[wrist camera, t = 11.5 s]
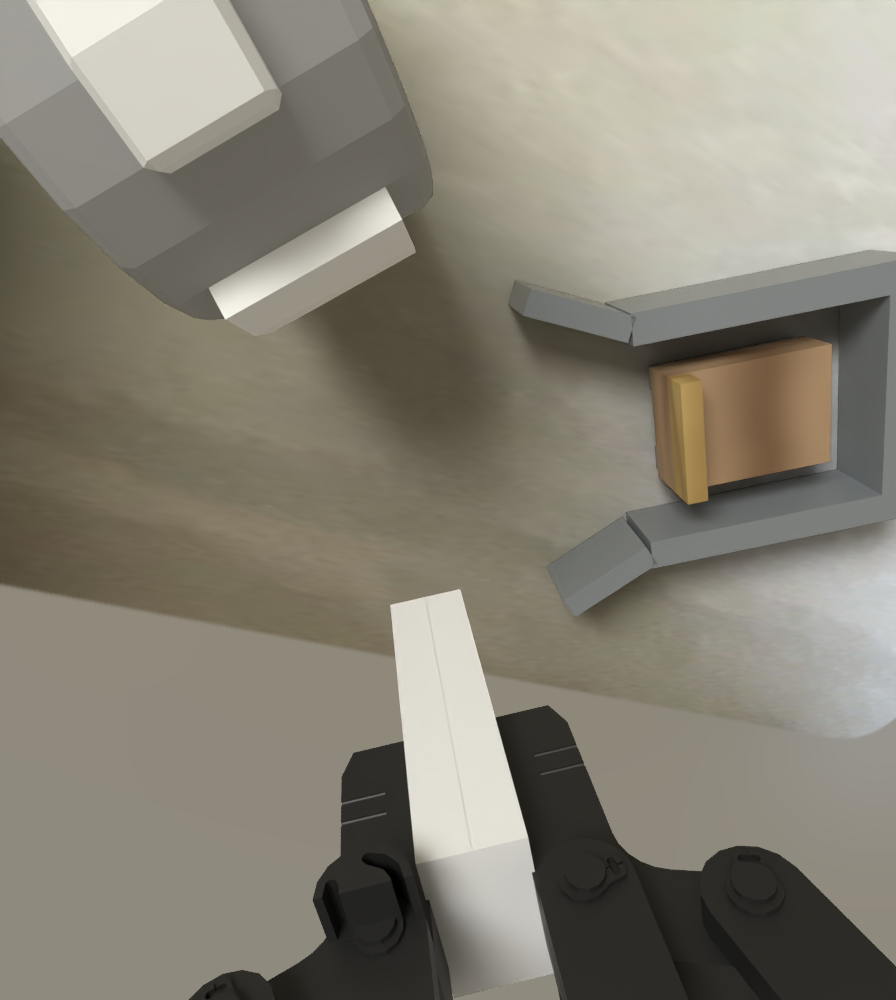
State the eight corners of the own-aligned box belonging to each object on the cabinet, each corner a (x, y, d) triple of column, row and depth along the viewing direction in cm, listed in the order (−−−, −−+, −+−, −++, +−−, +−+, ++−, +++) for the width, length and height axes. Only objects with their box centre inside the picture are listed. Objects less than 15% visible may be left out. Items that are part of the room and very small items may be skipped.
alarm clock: (27, -102, 30) (-581, -634, 11) (211, -221, 29) (-98, -1022, 10) (276, 311, 36) (167, 426, 17) (431, 223, 35) (496, 244, 16)
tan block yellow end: (652, 470, 41) (688, 504, 36) (643, 363, 39) (680, 384, 34) (795, 441, 41) (849, 471, 36) (794, 332, 39) (851, 350, 34)
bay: (549, 583, 43) (565, 619, 39) (505, 282, 36) (519, 290, 33) (861, 519, 43) (907, 548, 39) (871, 209, 37) (926, 209, 33)
